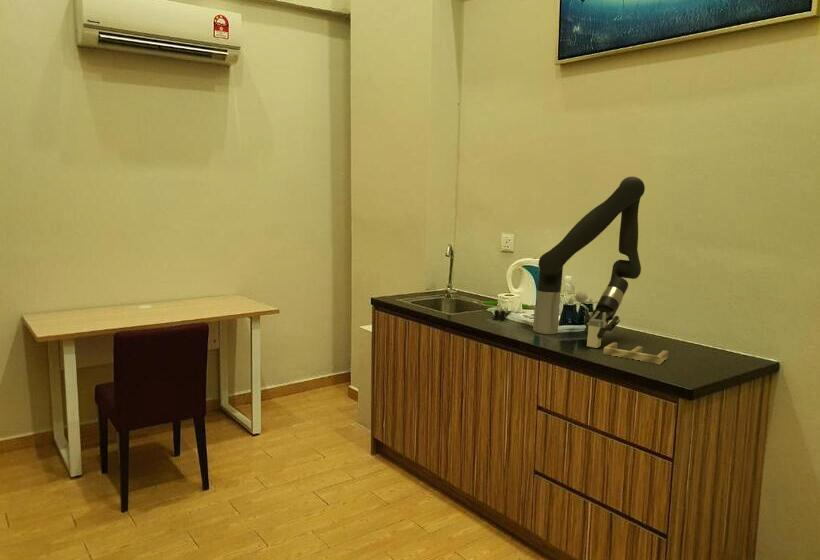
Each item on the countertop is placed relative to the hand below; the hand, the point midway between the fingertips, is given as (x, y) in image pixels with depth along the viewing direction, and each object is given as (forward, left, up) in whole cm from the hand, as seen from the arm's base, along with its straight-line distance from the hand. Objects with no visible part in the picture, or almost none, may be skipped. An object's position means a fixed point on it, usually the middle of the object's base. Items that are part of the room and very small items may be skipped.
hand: (592, 336), depth 239 cm
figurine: (-54, +36, -5) cm, 65 cm away
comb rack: (+16, 0, -5) cm, 17 cm away
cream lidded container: (0, +2, -4) cm, 5 cm away
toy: (-19, +39, -5) cm, 43 cm away
